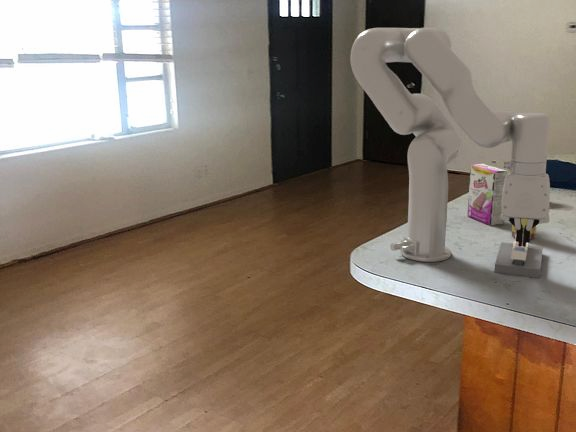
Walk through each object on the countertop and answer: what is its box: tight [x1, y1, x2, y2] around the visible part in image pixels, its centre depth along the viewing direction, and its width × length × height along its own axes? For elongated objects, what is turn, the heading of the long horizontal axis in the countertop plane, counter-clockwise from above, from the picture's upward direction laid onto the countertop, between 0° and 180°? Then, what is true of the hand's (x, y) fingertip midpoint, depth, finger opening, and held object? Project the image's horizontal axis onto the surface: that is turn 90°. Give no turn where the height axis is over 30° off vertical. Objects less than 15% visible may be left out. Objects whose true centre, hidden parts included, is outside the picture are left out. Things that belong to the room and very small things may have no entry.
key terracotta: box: [513, 241, 529, 255], centre depth 148 cm, size 3×3×4 cm
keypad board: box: [493, 241, 544, 278], centre depth 151 cm, size 17×10×2 cm, turn 157°
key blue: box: [511, 247, 527, 265], centre depth 145 cm, size 3×3×4 cm
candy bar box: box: [466, 163, 508, 227], centre depth 183 cm, size 11×5×16 cm, turn 22°
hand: (522, 244), depth 144 cm, fingers closed
